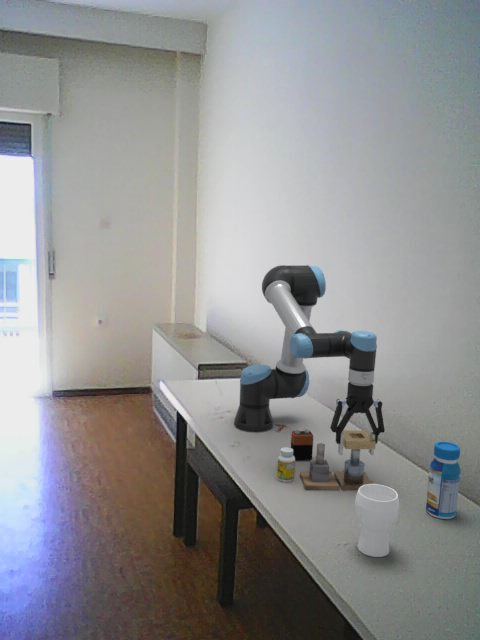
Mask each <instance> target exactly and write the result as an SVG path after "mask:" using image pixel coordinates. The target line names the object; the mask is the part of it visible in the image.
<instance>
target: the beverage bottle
mask: <svg viewBox="0 0 480 640" xmlns="http://www.w3.org/2000/svg"><path fill="white" fill-rule="evenodd" d="M433 455H434V458H433V459H432V461H431V462H430V464H429V469H430V471H429V472H428V483H427V494H426V503H425V511H426V512H427V513H428V514H429V515H430V516H432V517H435V518H438V519H442V520H451V519H453V518H455V517H456V516H457V507H458V498H459V490H460V483H461V477H460V474H461V472H462V471H461V470H462V469H461V466H460V464H459V462H458V461H459V459H460V455H461V447H460V446H459V445H458V444H456V443H454V442H450V441H437V442H436V443H434V449H433Z"/></svg>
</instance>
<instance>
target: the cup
mask: <svg viewBox="0 0 480 640" xmlns="http://www.w3.org/2000/svg"><path fill="white" fill-rule="evenodd" d="M354 499H355V500H354V509H355V514H356V518H357V521H358V522H359V526H360V529H359V530H360V535H359V538H358V542H357V549H358V550H359V551H360V552H361V553H362V554H364V555H366V556H369V557H373V558H382V557H385V556H388V555H389V553H390V541H389V537H390V533H391V529H392V528H393V526H394V525H395V524H396V522H397V519H398V517H399V514H400V500H399V494H398V492H397V491H396V490H395V489H393V488H391V487H389V486H386V485H382V484H379V483H373V484H366V485H363V486H361V487H360V488H359V489H358V490H357V493H356V496H355V498H354Z"/></svg>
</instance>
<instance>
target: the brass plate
mask: <svg viewBox="0 0 480 640" xmlns="http://www.w3.org/2000/svg"><path fill="white" fill-rule="evenodd" d="M342 433H343V434H344V439H343V448H344V449H345V450H351V449H360V450H369V449H374V450H376V445H377V444H376V441H375V440H374V439H373V438H372V436H371V435H370V432H369V431H368V430H343V431H342Z"/></svg>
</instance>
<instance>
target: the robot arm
mask: <svg viewBox="0 0 480 640" xmlns="http://www.w3.org/2000/svg"><path fill="white" fill-rule="evenodd" d="M326 283H327V282H326V278H325V274H324V273H323V270H322V269H321V268H320V267H318V266H316V265H310V264H307V265H285V264H283V265H282V264H281V265H277V266H274V267H273V268H270V269H269V270H268V271H267V272H266V273H265V275H264V276H263V279H262V283H261V291H262V294H263V296H264V298H265V300H266V301H267V302H268V303H269V304H271V305H272V306H273V308H274V310H275V312H276V314H277V315H278V317H279V319H280V320H281V322H282V324H283V325H284V327H285V329H284V336H283V341H282V349H281V355H280V359H279V360H278V361H277V362H276V363H275V368H271V366H269V365H267V364H254V365H249V366H247V367H245V368H243V369H242V371H241V372H240V379H239V385H240V386H239V405H238V408H237V410H236V411H237V412H236V414H235V417H234V422H233V424H234V427H235V428H236V429H239V430H242V431H244V432H245V431H246V432H251V433H252V432H253V433H257V432H258V433H259V432H266V431H269V430H271V429H272V428H273V427H274V426H273V425H274V420H273V416H272V411H271V409H270V400H276V399H295V398H301V397H303V396H305V395H306V393H307V392H308V390H309V386H310V373H309V371H308V370H307V367H306V365H305V364H304V363H303V362H304V359H305V360H306V359H317V358H318V359H319V358H343V357H345V358H347V359H349V365H348V366H349V367H348V377H347V378H348V380H347V381H349V382H348V384H347V393H346V398H345V399H339V398H337V399H336V408H335V411H334V415H333V417H332V421H331V424H330V427H329V428H330V430H331V432H332V433H335V443H336V444H337V445H338V446H337V452H338V454H339V456H343V452H344V446H343V439H344V434H343V433H342V431H343V430H344V429H346V427H347V424H348V423H349V421H350V419H351V418H352V417H353V416H354V414H364V415H365V416H366V419H367V422H368V423H369V425H370V428H371V430H372V431H370V432H369V434H370V435H371V436H372V438H373V439H374V440H375V441H376V444H375V445H377V444H378V442H379V435H380V434H381V433H385V431H386V430H385V425H384V418H383V412H382V410H383V409H382V408H383V402H382V401H381V400H380V399H379V398H378V399H376V400H375V399H373V397H374V396H373V395H374V385H373V383H374V379H375V367H376V357H377V348H378V344H377V335H376V333H375V332H373V331H366V330H356V331H352V333H351V331H347V330H343V329H342V330H337V331H334V332H317V331H316V330H315V328H314V326H313V325H312V324H311V322H310V319H311V316H312V315H311V314H312V309H313V307H315V306H316V305H317V303H318V298H319V299H320V298H322V297H323V296H324V295H325V293H326V289H327V288H326V287H327V285H326ZM345 405H347V409H346V411H345V413H344V415H343V417H342V418H341V415H342V412H343V408H345ZM372 405H373V406H374V408H375V415H376V421H377V425H376V422H375V420H374V417H373V416H372V413H371V411H370V408H371V407H372ZM340 418H341V420H340ZM339 421H340V422H339ZM344 431H345V430H344ZM368 453H369V454H370V455H371V456H374V454H375V449H368Z"/></svg>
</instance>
